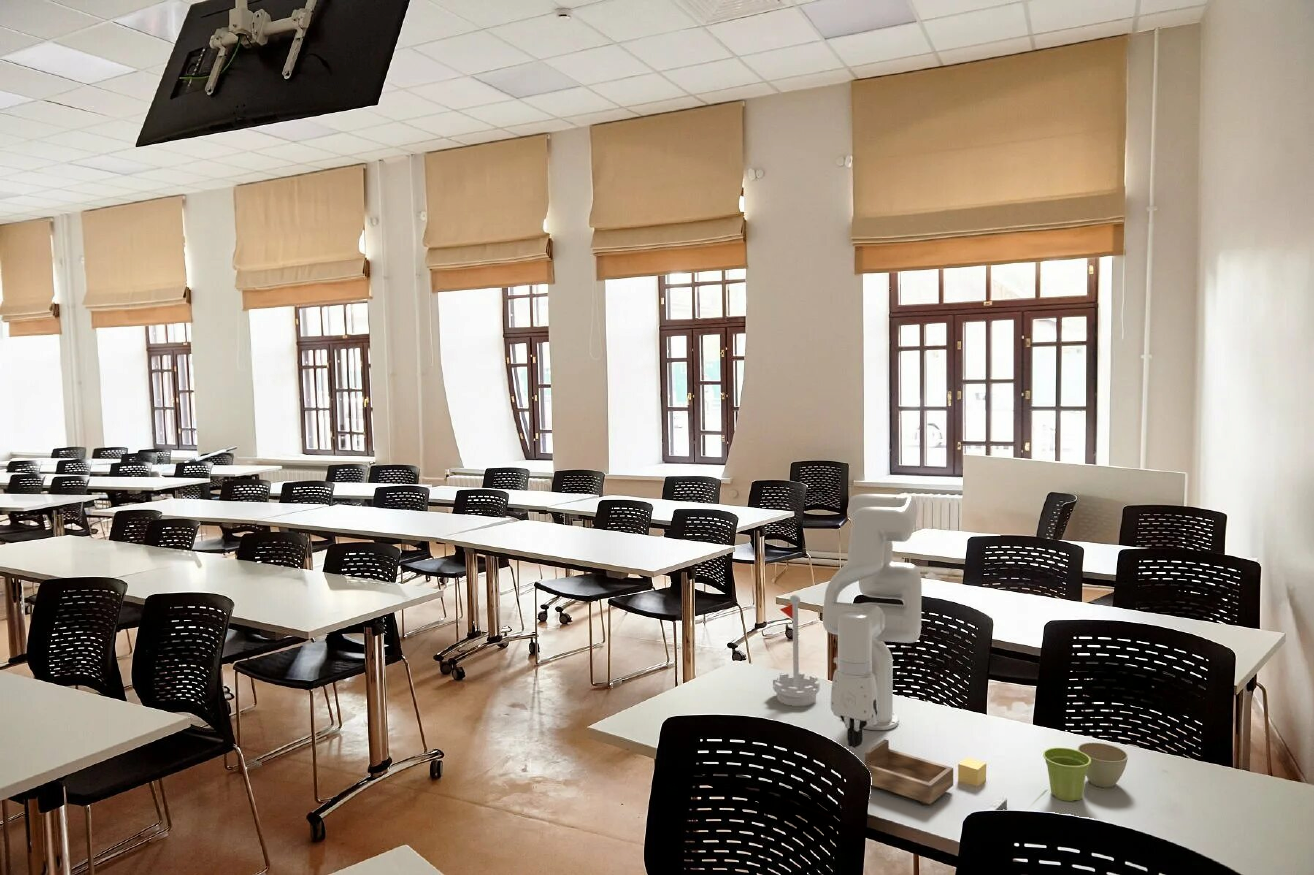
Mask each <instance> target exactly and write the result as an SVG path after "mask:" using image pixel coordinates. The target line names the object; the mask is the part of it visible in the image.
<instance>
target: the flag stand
mask: <svg viewBox="0 0 1314 875" xmlns="http://www.w3.org/2000/svg"><path fill="white" fill-rule="evenodd" d="M789 602H790V603H791V604H790V605H787V606H785V607H782V608H779V610H780V611H781V612H783V613H784V614H785V615H786V616H788V617H789V618H790V619H791V620H792V660H793V662H792V668H793V670H792V671H793V672H792V673H793V675H792V676H790V675H789V673H788V672H784V673H780V674H779V677H778V676H774V677H773V679H772V690H773V691H774V692H776V700H777V699H778V700H777V701H778V702H779V701H780V702H779V703H780V704H783V703H784V704H783V705H786V704H787V706H791V705H792V707H805V706H809V705H812V704H814V703H815V702H816V701H817V694H818V693H819V692H820V690H821V689H820V688H821V685H820V680H818V677H817V676H815V675H813V674H811V675H809V677H806V676H805V675H806V674H805V673H804V672H799V670H800V668H799V666H800V665H799V664H800V662H799V661H800V660H799V658H800V657H799V653H800V652H799V651H800V650H799V604H800V603H801V597H800V595H799V594H796V593H794V594H791V596H790V597H789Z"/></svg>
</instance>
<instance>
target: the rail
mask: <svg viewBox="0 0 1314 875" xmlns="http://www.w3.org/2000/svg"><path fill="white" fill-rule="evenodd" d="M1007 808H1008V798H1005V797H999V798H998V800H997V801H996V802H994V803H993V805H991V806H989V808H988V809H987V810H1003V809H1005V810H1006V809H1007Z"/></svg>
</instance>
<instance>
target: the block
mask: <svg viewBox="0 0 1314 875" xmlns="http://www.w3.org/2000/svg"><path fill="white" fill-rule="evenodd" d="M957 765H958V766H957V767H958V768H957V769H958V770H957V774H958V775H957V781H958V782H960V783H964V784H966V785H969V786H974V787H977V788H978V787H979V786H981V785H982V784H983V783H984V782H985V781H986V780H987V762H983V761H981V760H978V759H975V758H970V757H967V756H966V757H965V758H964V759H963V760H961V761H959V763H957Z"/></svg>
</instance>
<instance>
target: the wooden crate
mask: <svg viewBox="0 0 1314 875" xmlns="http://www.w3.org/2000/svg"><path fill="white" fill-rule="evenodd" d="M889 741H890V740H889V739H883V740H882V741H880V742H878V743H876V744H875V745H874V746H872V747H870V748H869V749H868V750H865V751H864V763H863V764H865V765H866V767H867V768H868V770H869V771H870V773H871V777H872V787H871V788H873V789H876V788H880V789H883V790H886V791H889V792H892V793H895V794H898V795H901V796H904V797H907V798H910V799H913V800H916V801H919V802H921V804H922V806H925V805H928V804H929V805H931V804H933V803H934V802H935V801H936V800H938V799H939V798H940V797H941V796H943V795H944V794H945V793H946V792H947V791H949V789H951V788H952V787H953V786H954V767H951V766H948V765H945V764H941V763H938V762H936V761H935V762H934V761H931V760H928V759H924V758H920V757H917V756H914V755H911V754H907V753H904V752H901V751H897V750H893V749H890V746H889V744H890V742H889Z"/></svg>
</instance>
